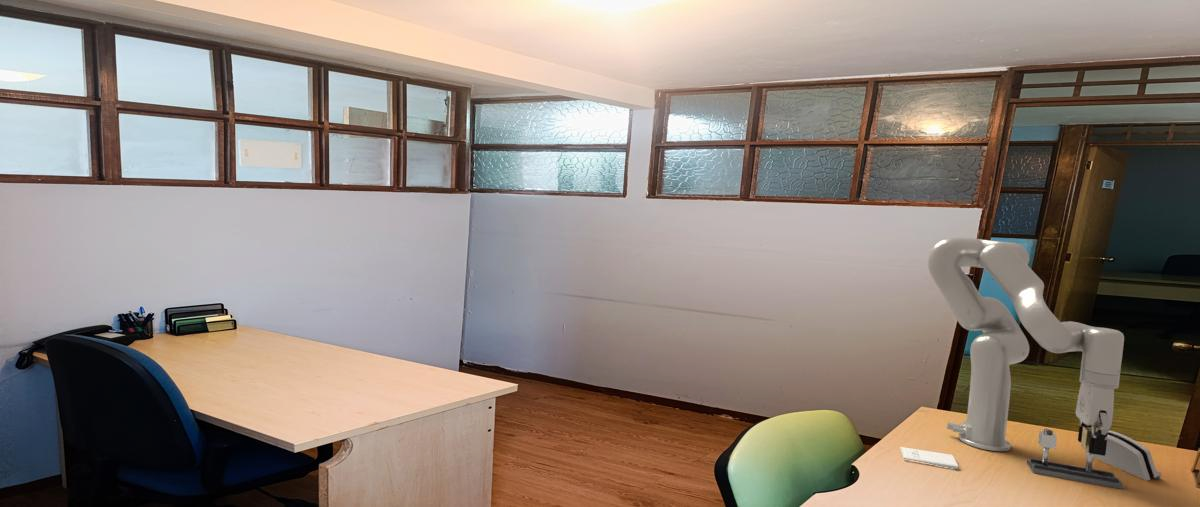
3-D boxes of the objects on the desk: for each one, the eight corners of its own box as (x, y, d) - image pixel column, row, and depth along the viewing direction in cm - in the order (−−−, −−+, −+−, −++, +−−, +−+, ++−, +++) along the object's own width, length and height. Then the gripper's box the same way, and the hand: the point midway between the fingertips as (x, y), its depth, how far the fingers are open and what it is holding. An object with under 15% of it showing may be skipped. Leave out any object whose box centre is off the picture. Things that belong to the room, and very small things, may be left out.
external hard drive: (957, 472, 154) (902, 462, 158) (951, 460, 162) (899, 451, 166) (958, 466, 154) (903, 456, 158) (952, 454, 162) (900, 445, 166)
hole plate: (1033, 472, 155) (1037, 432, 154) (1026, 462, 161) (1030, 423, 161) (1122, 489, 148) (1128, 447, 147) (1112, 478, 154) (1117, 437, 154)
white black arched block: (1163, 480, 155) (1156, 443, 153) (1147, 486, 154) (1140, 450, 153) (1100, 453, 171) (1093, 420, 170) (1085, 459, 171) (1078, 425, 169)
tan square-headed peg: (1082, 472, 152) (1087, 430, 152) (1078, 467, 155) (1083, 426, 155) (1098, 475, 151) (1103, 432, 150) (1093, 470, 154) (1098, 428, 153)
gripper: (1069, 368, 161) (1062, 434, 162) (1092, 384, 145) (1083, 457, 146) (1105, 372, 158) (1097, 439, 159) (1132, 389, 142) (1123, 464, 143)
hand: (1091, 447), depth 153 cm, fingers open, 7 cm apart
